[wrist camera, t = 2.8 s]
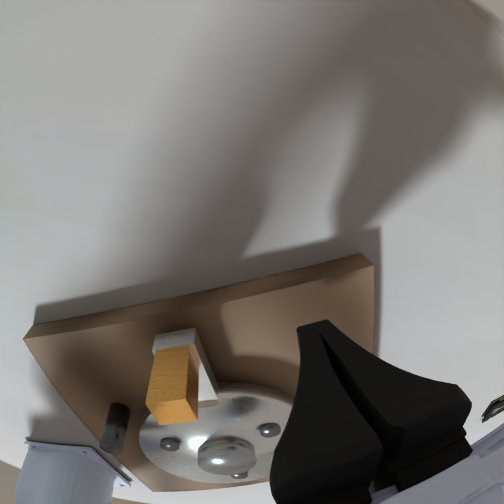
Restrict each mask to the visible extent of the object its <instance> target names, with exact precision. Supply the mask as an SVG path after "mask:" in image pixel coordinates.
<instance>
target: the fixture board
mask: <svg viewBox="0 0 504 504" xmlns="http://www.w3.org/2000/svg"><path fill="white" fill-rule="evenodd" d="M325 319H327V320H329V321H330V322H331V323H332V324H334V325H335V326H336V327H337V328H338V329H339V330H340V331H342V332H343V333H344V334H345V335H346V336H348V337H349V338H350V339H352V340H353V341H354V342H356V343H357V344H358V345H360V346H361V347H363V348H364V349H365V350H367V351H368V352H370V353H372V354H373V334H374V265H373V264H372V263H371V262H370V261H369V260H368V259H367V258H366V257H365V256H364V255H363V254H358V255H354V256H350V257H346V258H342V259H338V260H334V261H330V262H326V263H322V264H318V265H314V266H310V267H306V268H302V269H298V270H293V271H289V272H285V273H281V274H277V275H272V276H268V277H264V278H260V279H255V280H251V281H247V282H242V283H238V284H234V285H229V286H225V287H220V288H216V289H211V290H207V291H202V292H198V293H193V294H189V295H184V296H179V297H175V298H170V299H165V300H161V301H156V302H151V303H146V304H141V305H137V306H132V307H127V308H122V309H117V310H112V311H107V312H102V313H96V314H91V315H86V316H81V317H76V318H70V319H65V320H59V321H54V322H48V323H43V324H37V325H33V326H32V327H31V328H30V330H29V331H28V333H27V334H26V335H25V337H24V338H23V340H24V342H25V344H26V345H27V347H28V348H29V350H30V352H31V353H32V355H33V356H34V358H35V359H36V361H37V362H38V364H39V365H40V367H41V368H42V370H43V371H44V373H45V374H46V376H47V377H48V379H49V380H50V381H51V383H52V384H53V385H54V387H55V388H56V390H57V391H58V392H59V394H60V395H61V396H62V398H63V399H64V400H65V401H66V403H67V404H68V405H69V406H70V408H71V409H72V410H73V411H74V413H75V414H76V415H77V416H78V417H79V419H80V420H81V421H82V422H83V423H84V424H85V426H86V427H87V428H88V429H89V430H90V431H91V432H92V434H93V435H94V436H95V437H96V438H97V439H98V440H99V441H100V442H101V438H102V434H103V430H104V426H105V422H106V419H107V415H108V411H109V408H110V405H111V404H112V403H122V404H124V405H126V406H127V407H128V408H129V409H130V411H131V413H130V418H129V423H128V427H127V433H126V438H125V443H124V448H123V453H122V454H118V455H117V454H112V455H113V456H114V457H115V458H116V459H117V460H118V461H119V462H120V463H121V464H122V465H124V466H125V467H126V468H127V469H128V470H129V471H130V472H131V473H132V474H133V475H134V476H135V477H136V478H138V479H139V480H140V481H141V482H142V483H143V484H144V485H146V486H147V487H148V488H149V489H150V490H151V491H153V492H173V491H195V490H209V489H219V488H228V487H236V486H244V485H250V484H256V483H262V482H268V481H270V479H269V478H270V476H268V477H265V478H261V479H257V480H253V481H247V482H240V483H206V482H198V481H194V480H189V479H185V478H182V477H179V476H176V475H173V474H171V473H169V472H167V471H165V470H163V469H161V468H159V467H158V466H157V465H155V464H154V463H152V462H151V461H150V460H149V459H148V458H147V457H146V455H145V454H144V453H143V451H142V449H141V447H140V443H139V434H140V428H141V422H142V418H143V415H144V413H145V412H146V410H147V409H148V407H147V406H146V404H145V402H146V397H147V392H148V386H149V381H150V376H151V371H152V366H153V362H154V357H155V356H154V354H153V352H152V348H153V344H154V340H155V336H156V335H158V334H163V333H169V332H174V331H179V330H185V329H190V328H196V331H197V333H198V336H199V339H200V341H201V344H202V346H203V349H204V352H205V354H206V357H207V359H208V362H209V364H210V367H211V369H212V371H213V374H214V376H215V379H216V381H217V383H243V384H252V385H257V386H263V387H267V388H270V389H274V390H276V391H279V392H281V393H284V394H286V395H288V396H289V397H291V398H293V399H294V398H295V394H296V390H297V384H298V378H299V369H300V351H299V345H298V338H297V332H296V329H297V328H298V326H302V325H306V324H310V323H314V322H317V321H321V320H325Z"/></svg>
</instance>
